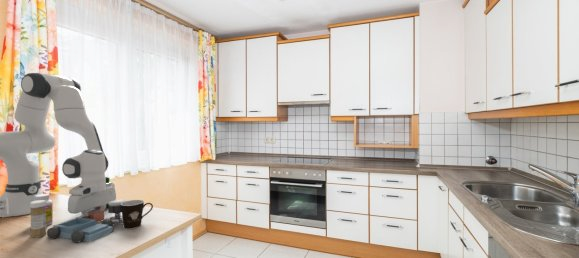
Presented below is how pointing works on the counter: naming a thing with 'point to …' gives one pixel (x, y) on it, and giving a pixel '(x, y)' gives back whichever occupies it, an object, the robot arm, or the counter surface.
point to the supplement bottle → (47, 207)
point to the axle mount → (117, 218)
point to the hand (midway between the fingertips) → (94, 217)
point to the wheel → (115, 206)
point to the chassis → (80, 229)
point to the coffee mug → (133, 213)
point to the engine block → (96, 214)
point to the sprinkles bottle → (38, 218)
